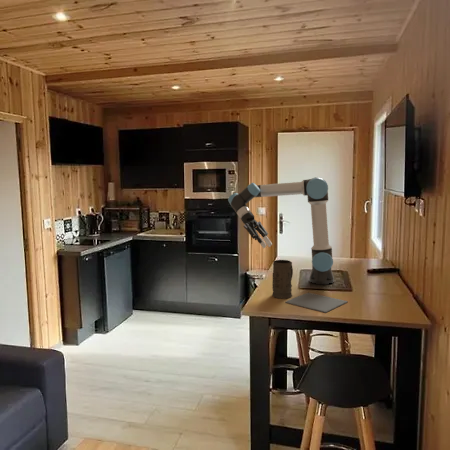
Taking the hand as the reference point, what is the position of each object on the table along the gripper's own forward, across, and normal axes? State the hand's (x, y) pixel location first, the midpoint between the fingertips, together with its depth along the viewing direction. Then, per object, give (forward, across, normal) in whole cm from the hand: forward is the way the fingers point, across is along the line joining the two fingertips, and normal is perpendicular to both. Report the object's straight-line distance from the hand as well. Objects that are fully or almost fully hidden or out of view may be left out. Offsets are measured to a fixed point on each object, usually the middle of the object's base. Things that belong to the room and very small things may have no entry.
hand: (267, 246), depth 239 cm
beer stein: (+27, 0, -11) cm, 29 cm away
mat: (+41, 0, +4) cm, 42 cm away
